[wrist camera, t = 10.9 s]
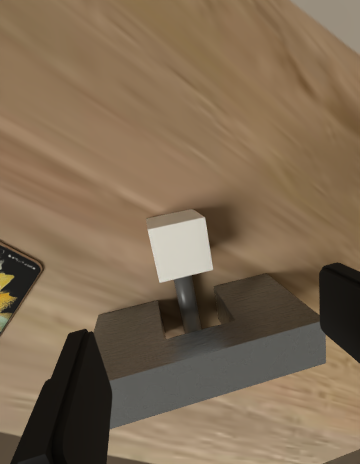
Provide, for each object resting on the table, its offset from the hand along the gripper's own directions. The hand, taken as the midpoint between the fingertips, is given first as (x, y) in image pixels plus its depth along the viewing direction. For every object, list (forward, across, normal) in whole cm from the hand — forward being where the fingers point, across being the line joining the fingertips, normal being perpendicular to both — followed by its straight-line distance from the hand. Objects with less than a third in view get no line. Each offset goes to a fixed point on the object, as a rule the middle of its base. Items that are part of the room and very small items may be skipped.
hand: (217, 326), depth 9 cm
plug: (+14, -1, +6) cm, 15 cm away
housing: (+14, -1, +9) cm, 17 cm away
